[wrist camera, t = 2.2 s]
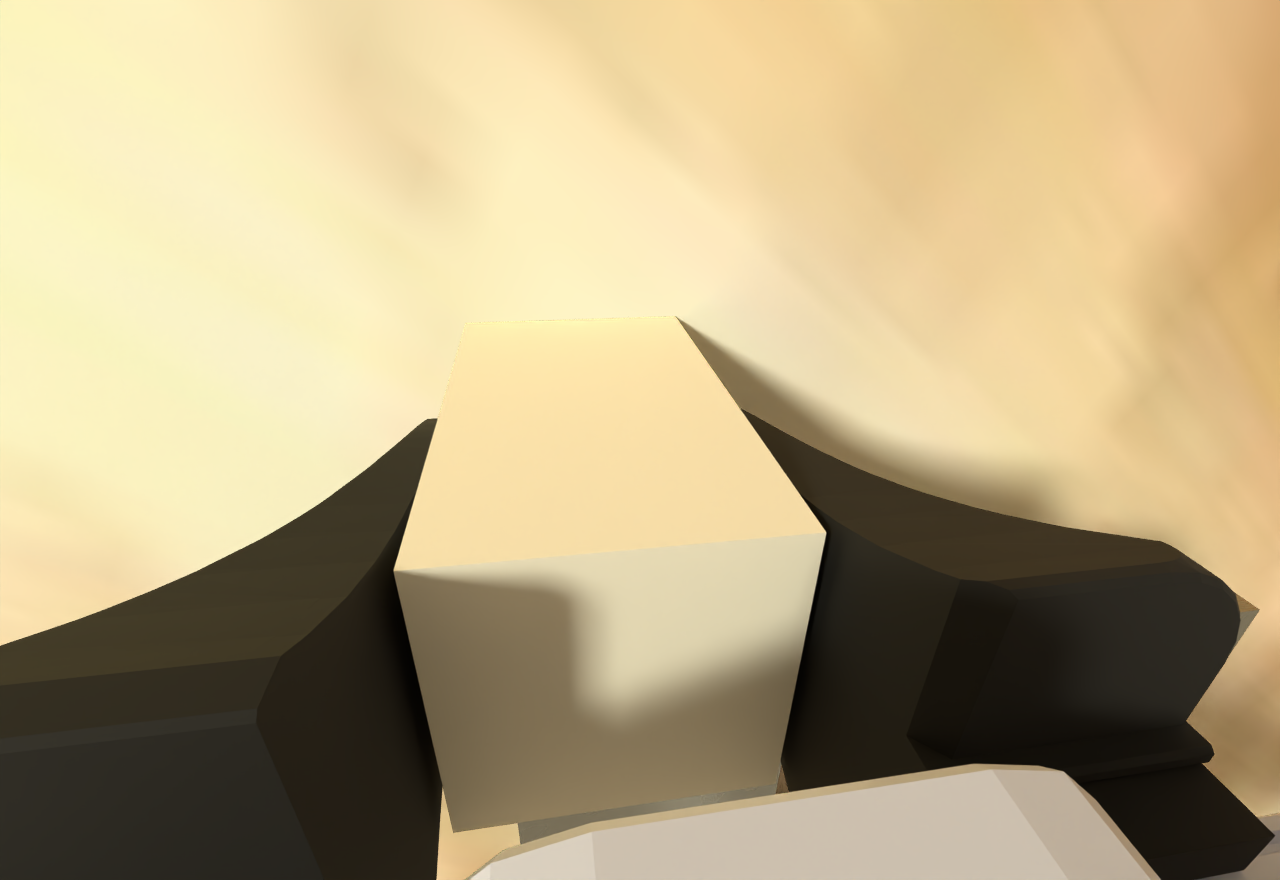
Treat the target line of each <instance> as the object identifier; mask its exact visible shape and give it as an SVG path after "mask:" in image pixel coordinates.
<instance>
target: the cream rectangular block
mask: <svg viewBox="0 0 1280 880" xmlns="http://www.w3.org/2000/svg"><path fill="white" fill-rule="evenodd" d="M825 537H826V531H825V530H824V528H823V527H822V525H821V524H820V523H819V521H818V520H817V518H816V517H815V515H814V514H813V513H812V511H811V510H810V508H809V507H808V505H807V504H806V503H805V501H804V500H803V498H802V497H801V495H800V494H799V493H798V491H797V490H796V488H795V487H794V485H793V484H792V483H791V481H790V480H789V478H788V477H787V475H786V474H785V473H784V471H783V470H782V468H781V467H780V465H779V464H778V462H777V461H776V460H775V458H774V457H773V455H772V454H771V452H770V451H769V450H768V448H767V447H766V445H765V444H764V442H763V441H762V440H761V438H760V437H759V435H758V434H757V432H756V431H755V430H754V428H753V427H752V425H751V424H750V422H749V421H748V420H747V418H746V417H745V415H744V414H743V412H742V411H741V410H740V408H739V407H738V405H737V404H736V402H735V401H734V400H733V398H732V397H731V395H730V394H729V392H728V391H727V390H726V388H725V387H724V385H723V384H722V382H721V381H720V379H719V378H718V377H717V375H716V374H715V372H714V371H713V369H712V368H711V367H710V365H709V364H708V362H707V361H706V359H705V358H704V357H703V355H702V354H701V352H700V351H699V349H698V348H697V347H696V345H695V344H694V342H693V341H692V339H691V338H690V337H689V335H688V334H687V332H686V331H685V329H684V328H683V327H682V325H681V324H680V322H679V321H678V319H677V318H676V317H675V316H669V317H638V318H607V319H576V320H546V321H515V322H484V323H465V327H464V330H463V334H462V337H461V341H460V344H459V347H458V351H457V354H456V358H455V361H454V365H453V368H452V372H451V375H450V378H449V382H448V385H447V389H446V392H445V396H444V399H443V402H442V406H441V409H440V413H439V416H438V420H437V423H436V426H435V430H434V433H433V437H432V440H431V444H430V447H429V451H428V454H427V457H426V461H425V464H424V468H423V471H422V475H421V478H420V481H419V485H418V488H417V492H416V495H415V499H414V502H413V506H412V509H411V512H410V516H409V519H408V523H407V526H406V530H405V533H404V536H403V540H402V543H401V547H400V550H399V554H398V557H397V560H396V564H395V567H394V576H395V580H396V585H397V589H398V593H399V598H400V602H401V606H402V611H403V615H404V619H405V624H406V628H407V633H408V637H409V641H410V646H411V650H412V654H413V659H414V663H415V667H416V672H417V676H418V681H419V685H420V689H421V694H422V698H423V702H424V707H425V711H426V716H427V720H428V724H429V729H430V733H431V737H432V742H433V746H434V750H435V755H436V759H437V764H438V768H439V772H440V777H441V781H442V785H443V790H444V794H445V799H446V803H447V807H448V812H449V816H450V820H451V825H452V829H453V833H454V832H461V831H468V830H474V829H481V828H487V827H494V826H501V825H507V824H514V823H520V822H527V821H534V820H540V819H547V818H553V817H560V816H567V815H573V814H580V813H586V812H593V811H600V810H606V809H613V808H619V807H626V806H633V805H639V804H646V803H652V802H659V801H666V800H672V799H679V798H685V797H692V796H699V795H705V794H712V793H718V792H725V791H732V790H738V789H745V788H751V787H758V786H765V785H771V784H776V779H777V774H778V769H779V764H780V759H781V754H782V749H783V745H784V740H785V735H786V730H787V725H788V720H789V715H790V710H791V705H792V700H793V695H794V690H795V685H796V680H797V675H798V670H799V666H800V661H801V656H802V651H803V646H804V641H805V636H806V631H807V626H808V621H809V616H810V611H811V606H812V601H813V596H814V591H815V586H816V582H817V577H818V572H819V567H820V562H821V557H822V552H823V547H824V542H825Z"/></svg>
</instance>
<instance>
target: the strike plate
mask: <svg viewBox="0 0 1280 880" xmlns="http://www.w3.org/2000/svg"><path fill="white" fill-rule="evenodd" d="M1234 593H1235V592H1234ZM1235 594H1236V593H1235ZM1236 597H1237V601H1238V605H1239V610H1240V620H1241V621H1240V626H1239V631H1238V636H1237V641H1236V643H1235V645H1234V647H1235V646H1236V644H1237V643H1238V641H1239V640H1240V638H1241V637H1242V635H1243V634H1244V632H1245V631H1246V629H1247V628H1248V626H1249V625H1250V623H1251V622H1252V621H1253V619H1254V618H1255V616H1256V615H1257V613H1258V612H1259V609H1258V608H1256V607H1255V606H1253V605H1252V604H1251V603H1249V602H1248V601H1246V600H1245V599H1243V598H1242V597H1240V596H1239V595H1237V594H1236ZM1234 647H1233V649H1234ZM1233 649H1232V650H1233ZM1231 652H1232V651H1231ZM1231 652H1230V653H1231ZM1229 655H1230V654H1229ZM780 769H781V761H780V764H779V769H778V774H777V779H776V784H771V785H765V786H758V787H751V788H745V789H738V790H732V791H725V792H718V793H712V794H705V795H699V796H692V797H685V798H679V799H672V800H666V801H659V802H652V803H646V804H639V805H633V806H626V807H619V808H613V809H606V810H600V811H593V812H586V813H580V814H573V815H567V816H560V817H553V818H547V819H540V820H534V821H527V822H520V823H518V828H519V836H520V843H521V844H524V843H527V842H531V841H534V840H537V839H540V838H543V837H547V836H550V835H553V834H556V833H560V832H563V831H566V830H569V829H572V828H576V827H579V826H582V825H585V824H589V823H593V822H600V821H606V820H613V819H619V818H626V817H632V816H639V815H645V814H652V813H658V812H665V811H671V810H678V809H684V808H690V807H697V806H703V805H710V804H716V803H723V802H729V801H736V800H742V799H749V798H755V797H762V796H768V795H775V794H776V789H777V784H778V779H779V774H780Z"/></svg>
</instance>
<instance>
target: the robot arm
mask: <svg viewBox="0 0 1280 880" xmlns="http://www.w3.org/2000/svg"><path fill="white" fill-rule="evenodd" d="M740 410H741V411H742V412H743V414H744V415H745V417H746V418H747V420H748V421H749V422H750V424H751V425H752V427H753V428H754V430H755V431H756V432H757V434H758V435H759V437H760V438H761V440H762V441H763V442H764V444H765V445H766V447H767V448H768V450H769V451H770V452H771V454H772V455H773V457H774V458H775V460H776V461H777V462H778V464H779V465H780V467H781V468H782V470H783V471H784V473H785V474H786V475H787V477H788V478H789V480H790V481H791V483H792V484H793V485H794V487H795V488H796V490H797V491H798V493H799V494H800V495H801V497H802V498H803V500H804V501H805V503H806V504H807V505H808V507H809V508H810V510H811V511H812V513H813V514H814V515H815V517H816V518H817V520H818V521H819V523H820V524H821V525H822V527H823V528H824V530H825V531H826V537H825V542H824V547H823V552H822V557H821V562H820V567H819V572H818V577H817V582H816V586H815V591H814V596H813V601H812V606H811V611H810V616H809V621H808V626H807V631H806V636H805V641H804V646H803V651H802V656H801V661H800V666H799V670H798V675H797V680H796V685H795V690H794V695H793V700H792V705H791V710H790V715H789V720H788V725H787V730H786V735H785V740H784V745H783V749H782V754H781V759H780V761H781V765H782V768H783V771H784V775H785V779H786V783H787V786H788V790H789V792H788V793H781V794H775V795H768V796H762V797H755V798H749V799H742V800H736V801H729V802H723V803H716V804H710V805H703V806H697V807H690V808H684V809H678V810H671V811H665V812H658V813H652V814H645V815H639V816H632V817H626V818H619V819H613V820H606V821H600V822H593V823H589V824H585V825H582V826H579V827H576V828H572V829H569V830H566V831H563V832H560V833H556V834H553V835H550V836H547V837H543V838H540V839H537V840H534V841H531V842H527V843H524V844H521V845H518V846H515V847H511V848H508V849H505V850H503V851H501V852H500V853H499V854H498V855H496V856H495V857H494V858H492V859H491V860H490V861H488V862H487V863H486V864H485V865H483V866H482V867H481V868H479V869H478V870H477V871H475V872H474V873H473V874H472V875H470V876H469V877H468V878H466V879H465V880H1280V813H1277V814H1271V815H1266V816H1260V817H1256V816H1255V815H1254V814H1253V813H1252V812H1251V811H1250V810H1249V809H1248V808H1247V807H1246V806H1245V805H1244V804H1243V803H1242V802H1241V801H1240V800H1238V799H1237V798H1236V797H1235V796H1234V795H1233V794H1232V793H1231V792H1230V791H1229V790H1228V789H1227V788H1226V787H1225V786H1224V785H1223V784H1222V783H1221V782H1220V781H1219V780H1218V779H1217V778H1216V777H1215V776H1214V775H1213V774H1212V773H1211V772H1210V771H1209V770H1208V769H1207V768H1206V767H1205V766H1204V765H1203V764H1202V763H1206V762H1209V761H1210V760H1211V758H1212V757H1213V756H1214V751H1213V748H1212V745H1211V744H1210V743H1209V742H1208V741H1207V740H1206V739H1204V738H1203V737H1202V736H1201V735H1200V734H1199V733H1198V732H1197V731H1196V730H1195V729H1194V728H1193V727H1192V726H1191V725H1190V724H1188V723H1187V722H1186V720H1187V718H1188V717H1189V715H1190V714H1191V712H1192V711H1193V709H1194V708H1195V706H1196V705H1197V703H1198V702H1199V701H1200V699H1201V698H1202V696H1203V695H1204V693H1205V692H1206V690H1207V689H1208V687H1209V686H1210V684H1211V683H1212V681H1213V680H1214V678H1215V677H1216V675H1217V674H1218V673H1219V671H1220V670H1221V668H1222V667H1223V665H1224V664H1225V662H1226V660H1227V658H1228V656H1229V654H1230V652H1231V651H1232V649H1233V647H1234V645H1235V643H1236V641H1237V636H1238V631H1239V626H1240V621H1241V620H1240V610H1239V605H1238V601H1237V597H1236V594H1235V593H1234V592H1233V591H1232V590H1231V589H1230V588H1229V587H1228V586H1227V585H1226V584H1225V583H1224V582H1223V581H1222V580H1221V579H1220V578H1218V577H1217V576H1215V575H1214V574H1212V573H1211V572H1209V571H1208V570H1206V569H1205V568H1204V567H1202V566H1201V565H1199V564H1198V563H1196V562H1195V561H1193V560H1192V559H1190V558H1189V557H1187V556H1186V555H1185V554H1183V553H1182V552H1180V551H1179V550H1177V549H1175V548H1174V547H1172V546H1170V545H1168V544H1166V543H1164V542H1161V541H1154V540H1147V539H1140V538H1134V537H1127V536H1120V535H1113V534H1107V533H1100V532H1093V531H1086V530H1080V529H1073V528H1066V527H1061V526H1056V525H1051V524H1046V523H1041V522H1036V521H1031V520H1026V519H1022V518H1017V517H1012V516H1007V515H1003V514H999V513H995V512H991V511H986V510H982V509H978V508H974V507H970V506H967V505H963V504H960V503H956V502H953V501H949V500H946V499H942V498H939V497H935V496H932V495H929V494H926V493H923V492H919V491H916V490H913V489H910V488H907V487H905V486H902V485H899V484H896V483H894V482H891V481H888V480H886V479H883V478H880V477H878V476H875V475H872V474H870V473H867V472H865V471H863V470H860V469H858V468H855V467H853V466H851V465H849V464H847V463H844V462H842V461H840V460H838V459H836V458H834V457H832V456H829V455H827V454H825V453H823V452H821V451H819V450H817V449H815V448H813V447H811V446H809V445H807V444H805V443H803V442H801V441H799V440H798V439H796V438H794V437H792V436H790V435H788V434H786V433H785V432H783V431H781V430H779V429H777V428H775V427H774V426H772V425H770V424H768V423H766V422H765V421H763V420H761V419H759V418H757V417H756V416H754V415H752V414H750V413H748V412H746V411H744V410H742V409H740ZM437 420H438V418H437V419H427V420H425V421H424V422H422V423H421V424H420V425H418V426H417V427H416V428H415V429H414V430H413V431H411V432H410V433H409V434H408V435H407V436H406V437H404V438H403V439H402V440H401V441H400V442H399V443H397V444H396V445H395V446H394V447H393V448H391V449H390V450H389V451H388V452H387V453H386V454H384V455H383V456H382V457H381V458H380V459H378V460H377V461H376V462H375V463H374V464H372V465H371V466H370V467H369V468H367V469H366V470H365V471H363V472H362V473H361V474H359V475H358V476H357V477H355V478H354V479H353V480H351V481H350V482H349V483H347V484H346V485H345V486H343V487H342V488H341V489H339V490H338V491H336V492H335V493H334V494H332V495H331V496H330V497H328V498H327V499H326V500H324V501H323V502H321V503H320V504H318V505H317V506H315V507H314V508H312V509H311V510H309V511H308V512H306V513H304V514H303V515H301V516H300V517H298V518H296V519H295V520H293V521H291V522H290V523H288V524H286V525H284V526H283V527H281V528H279V529H278V530H276V531H274V532H273V533H271V534H269V535H267V536H266V537H264V538H262V539H260V540H258V541H256V542H254V543H252V544H250V545H248V546H246V547H244V548H242V549H240V550H238V551H236V552H234V553H232V554H230V555H228V556H226V557H224V558H222V559H220V560H218V561H216V562H214V563H212V564H210V565H208V566H206V567H204V568H202V569H200V570H198V571H196V572H194V573H192V574H189V575H187V576H185V577H183V578H180V579H178V580H176V581H173V582H171V583H169V584H166V585H164V586H162V587H159V588H157V589H155V590H152V591H150V592H148V593H145V594H143V595H140V596H138V597H135V598H133V599H130V600H128V601H125V602H123V603H120V604H117V605H115V606H112V607H110V608H107V609H105V610H102V611H100V612H97V613H94V614H91V615H89V616H86V617H83V618H81V619H78V620H75V621H72V622H69V623H67V624H64V625H61V626H58V627H55V628H52V629H49V630H46V631H43V632H40V633H37V634H34V635H31V636H28V637H25V638H22V639H19V640H16V641H13V642H10V643H7V644H4V645H1V646H0V880H436V877H437V861H438V844H439V828H440V813H441V800H442V786H443V785H442V781H441V777H440V772H439V768H438V764H437V759H436V755H435V750H434V746H433V742H432V737H431V733H430V729H429V724H428V720H427V716H426V711H425V707H424V702H423V698H422V694H421V689H420V685H419V681H418V676H417V672H416V667H415V663H414V659H413V654H412V650H411V646H410V641H409V637H408V633H407V628H406V624H405V619H404V615H403V611H402V606H401V602H400V598H399V593H398V589H397V585H396V580H395V576H394V567H395V564H396V560H397V557H398V554H399V550H400V547H401V543H402V540H403V536H404V533H405V530H406V526H407V523H408V519H409V516H410V512H411V509H412V506H413V502H414V499H415V495H416V492H417V488H418V485H419V481H420V478H421V475H422V471H423V468H424V464H425V461H426V457H427V454H428V451H429V447H430V444H431V440H432V437H433V433H434V430H435V426H436V423H437Z"/></svg>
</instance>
